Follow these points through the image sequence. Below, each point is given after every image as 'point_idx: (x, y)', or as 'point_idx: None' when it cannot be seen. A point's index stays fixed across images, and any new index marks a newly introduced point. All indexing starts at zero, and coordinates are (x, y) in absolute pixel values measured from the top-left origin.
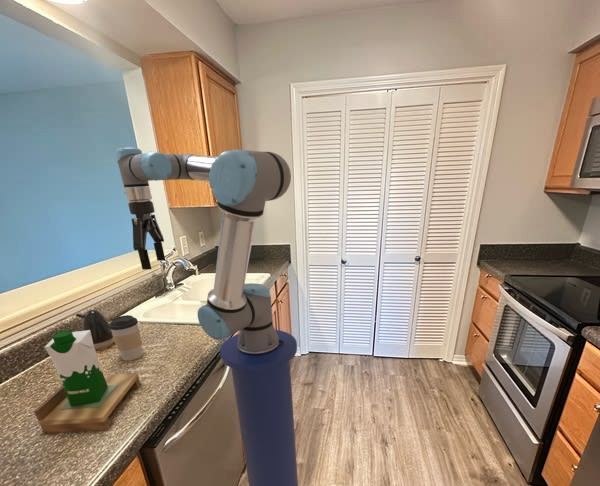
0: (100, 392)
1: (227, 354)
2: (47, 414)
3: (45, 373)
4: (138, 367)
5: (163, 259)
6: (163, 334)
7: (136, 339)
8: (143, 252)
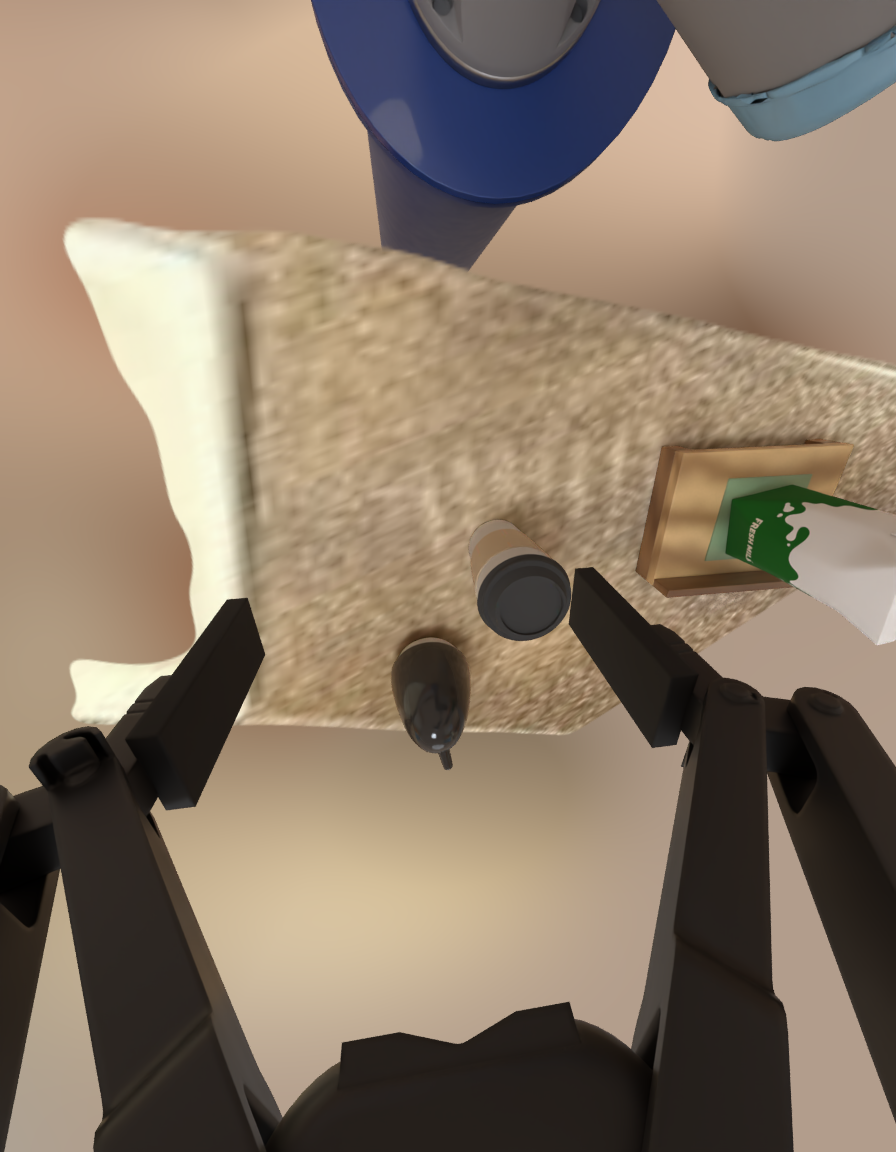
0: (794, 489)
1: (571, 141)
2: None
3: (550, 693)
4: (568, 496)
5: (246, 610)
6: (348, 516)
7: (526, 538)
8: (709, 673)
